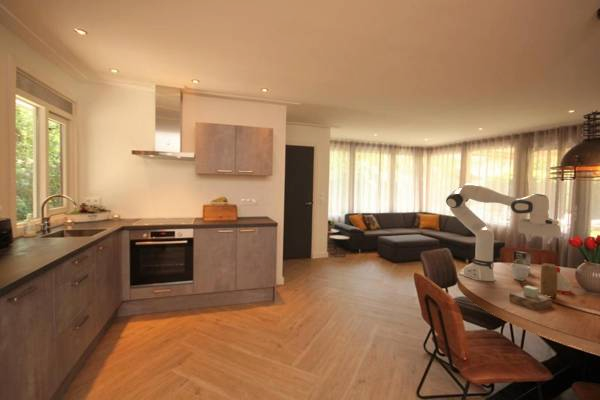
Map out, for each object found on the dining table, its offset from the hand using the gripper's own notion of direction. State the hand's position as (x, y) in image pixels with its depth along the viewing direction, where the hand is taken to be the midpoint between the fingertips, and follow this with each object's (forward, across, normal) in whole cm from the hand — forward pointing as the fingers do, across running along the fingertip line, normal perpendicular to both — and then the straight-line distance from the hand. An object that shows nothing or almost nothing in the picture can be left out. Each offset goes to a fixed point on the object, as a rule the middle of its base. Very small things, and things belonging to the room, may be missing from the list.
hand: (538, 242), depth 168 cm
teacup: (+34, -22, +30) cm, 51 cm away
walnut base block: (+35, +3, -16) cm, 38 cm away
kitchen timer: (+34, +1, +26) cm, 43 cm away
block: (+34, +3, +8) cm, 35 cm away
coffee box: (+34, -29, +52) cm, 69 cm away
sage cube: (+30, +3, -16) cm, 34 cm away
